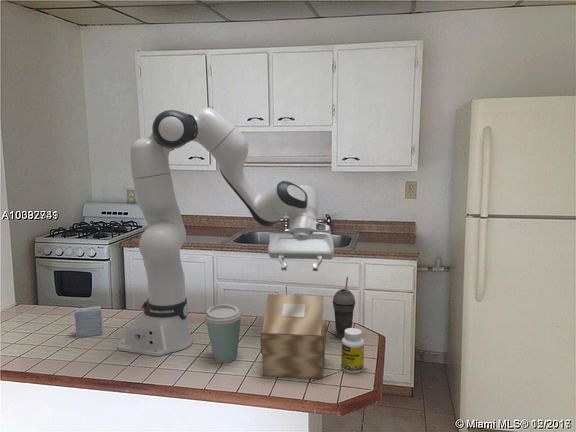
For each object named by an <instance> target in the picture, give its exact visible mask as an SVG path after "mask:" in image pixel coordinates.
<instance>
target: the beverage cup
mask: <svg viewBox="0 0 576 432" xmlns="http://www.w3.org/2000/svg"><path fill="white" fill-rule="evenodd" d="M348 282H349V277H348V276H346V280H345V287H344V288H342V289H338V291H336V292H335V294H334V295H333V298H332V306H333V310H334V324H335V333H336V334H335V335H336V338H338V339H340V340H342V339H343V338H344V337H345V335H344V332H345V329H348V328H353V319H354V318H353V317H354V310H355V307H356V305H355V304H356V298H355V296H354V294H353V292H352V291H350V290H349V289H348Z"/></svg>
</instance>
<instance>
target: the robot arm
mask: <svg viewBox="0 0 576 432" xmlns="http://www.w3.org/2000/svg"><path fill="white" fill-rule="evenodd" d="M190 142H196V143H198V144H199V145H201V146H202V147H203V148H204V149H205V150H206V151H207V152H209V154H210V155H211V156H212V157H213V158H214V160H216V163H218V166H219V171H220V174H221V176H222V177H223V179H224V180H225V182H226V183H227V185H228V186H229V187H230V188H231V189H232V190H233V192H234V194H236V195H237V196H238V198H239V199H240V201H242V203H243V204H244V205H245V207H247V209H248V211H249V212H250V215H251V216H252V218H253V219H254V220H255V221H256V222H257V224H259V225H261V226H264V227H269V228H270V227H273V226H274V225H276V224H277V223H278V222H279V221H280V220H281V219H283V218H284V217H288V218H289V221H288V222H289V224H288V230H274V231H272V232H270V234H269V237H268V241H269V243H268V248H267V255H268V256H269V258H270V259H278V261H279V263H280V265H281V266H280V267H281V271H287V268H288V264H287V262H284V261H285V260H286V259H287V260H289V259H290V260H291V259H292V260H294V259H295V260H317V261H316V262H315V263H312V272H318V271H319V267H320V266H321V264H322V263H323V260H333V258H335V248H334V245H335V244H334V240H333V239H334V238H333V236H332V233H331V227H330V226H329V225H328V224H325V223H321V222H318V221H317V217H318V215H319V214H318V213H319V199H318V194H317V191H316V189H315V188H314V187H312V186H311V185H307V184H300V185H297V184H295V183H293V182H291V181H287V180H283V181H280V182H278V183H277V184H275V185H274V186H273V187H271V188H270V189H269V190H267V191H266V192H265V193H262V194H261V193H259V191H258V190H257V189H256V188H255V187H254V185H253V184H252V183H251V182H250V180H249V179H248V178H247V177H246V175H245V173H244V166H245V163H246V160H247V158H248V154H249V143H248V140H247V138H246V137H245V136H244V134H243V133H242V132H241V131H240V130H239V128H237V127H236V126H235V125H234V124H233V123H232V122H231V121H230V120H229V119H227V117H225V116H224V115H222V114H221V113H219V112H218V111H216V110H215V109H214V108H212V107H208V106H207V107H202V108H200V109H198V110H197V111H196V112H194V114H190V113H186V112H182V111H178V110H175V109H169V110H163V111H162V112H160V113H158V115H157V116H156V117H155V118H154V120H153V122H152V131H151V134H150V135H149V136H146V137H143V138H140V139H136V141H135V142H133V143H132V144H131V146H130V152H129V153H130V154H129V155H130V156H129V158H130V170H131V175H132V182H133V187H134V191H135V192H134V193H135V198H136V202H137V205H138V207H139V208H140V210H141V212H142V214H143V217H144V219H145V222H146V226H147V228H146V229H145V230H144V231H143V233H142V234H141V236H140V238H139V243H138V250H139V252H140V254H141V257H142V260H143V266H144V269H145V273H146V279H147V295H148V296H147V297H148V298H147V299H146V301H144V302H143V304H142V305H140V308H141V309H140V310H143V312H142V313H140V314H139V315H138V316H137V317H136V318H134V319H133V320H132V321H131V322H130V323H129V324H128V326H127V328H126V331H125V335H124V337H123V338H121V339H120V340H119V342H118V344H117V349H118V351H122V352H128V353H134V354H141V355H147V356H152V357H153V356H154V357H161V356H165V355H167V354H169V353H174V352H178V351H181V350H184V349H186V348H189V347H190V346H191V345H192V343H193V341H194V340H193V338H192V335H191V331H190V327H189V322H188V312H189V311H188V309H189V307H188V299H187V297H186V286H185V285H186V283H185V272H184V270H183V265H182V259H181V248H182V246H183V245H184V243H185V242H186V238H187V230H186V227H185V225H184V222H183V217H182V214H181V211H180V208H179V205H178V202H177V199H176V194H175V188H174V184H173V183H174V182H173V178H172V173H171V167H170V161H169V157H170V154H171V153H170V152H172V151H174V150H177V149H180V148H182V147H184V146H186V144H188V143H190Z"/></svg>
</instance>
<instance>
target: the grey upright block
mask: <svg viewBox="0 0 576 432" xmlns="http://www.w3.org/2000/svg"><path fill="white" fill-rule="evenodd" d="M74 321H75V323H74V324H75V332H76V334H75V335H76V339H79V338H87V337H93V336H95V337H96V336H102V335H103V332H104V328H103V327H104V326H103V314H102V306H101V305H98V306H97V305H95V306H90V307H89V306H88V307H79V308H75V311H74Z"/></svg>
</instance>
